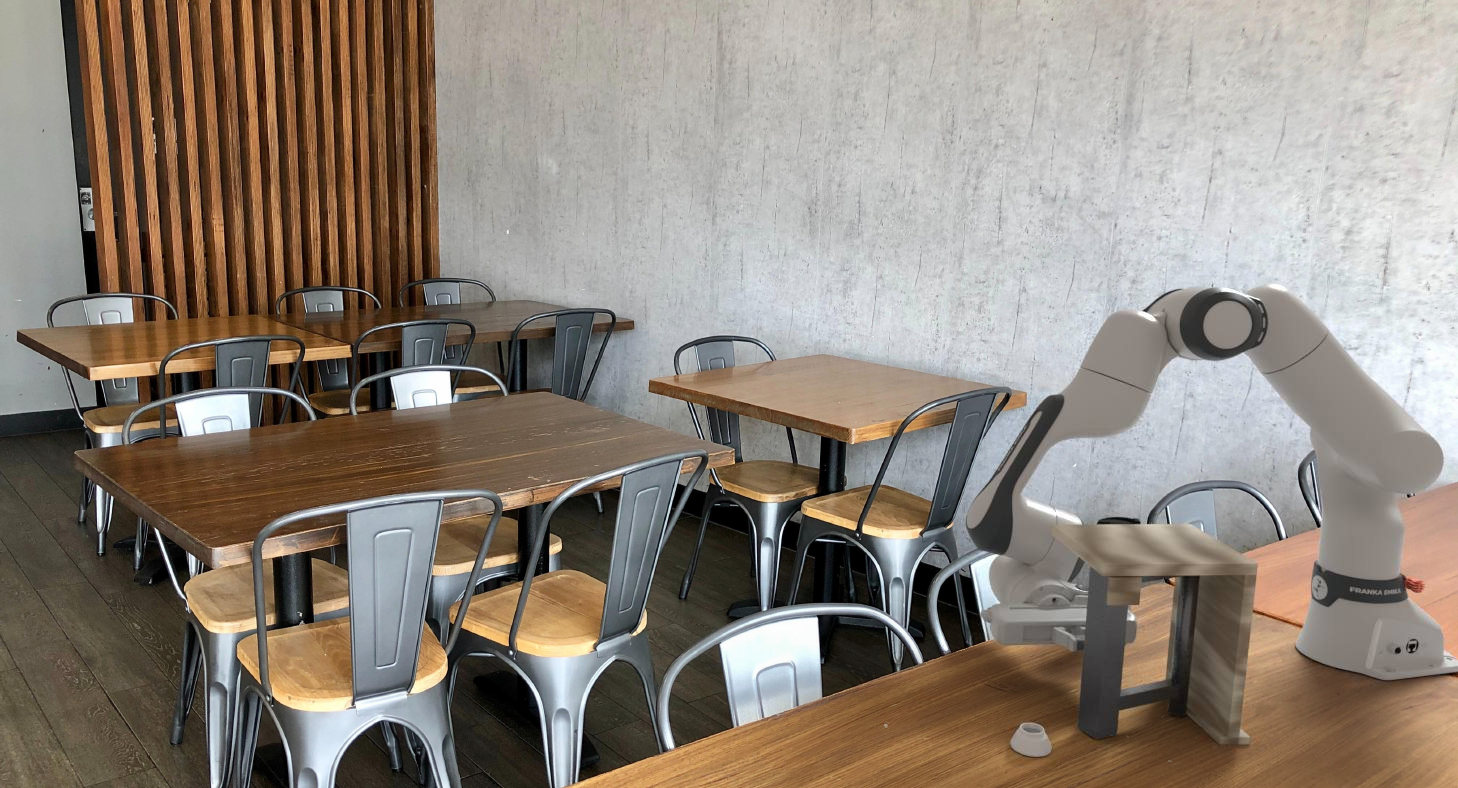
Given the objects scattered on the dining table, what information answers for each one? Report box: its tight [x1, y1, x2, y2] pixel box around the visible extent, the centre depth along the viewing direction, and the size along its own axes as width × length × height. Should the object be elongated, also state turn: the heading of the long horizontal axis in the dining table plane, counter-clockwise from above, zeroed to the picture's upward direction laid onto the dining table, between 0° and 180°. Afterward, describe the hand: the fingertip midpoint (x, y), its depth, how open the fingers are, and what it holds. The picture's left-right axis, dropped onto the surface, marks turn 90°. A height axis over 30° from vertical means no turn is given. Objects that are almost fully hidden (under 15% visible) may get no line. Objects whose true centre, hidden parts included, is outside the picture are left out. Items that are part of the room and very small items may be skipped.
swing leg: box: [1077, 566, 1200, 740], centre depth 142 cm, size 17×4×22 cm, turn 114°
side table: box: [1052, 523, 1259, 746], centre depth 144 cm, size 22×17×24 cm
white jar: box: [1009, 722, 1053, 758], centre depth 136 cm, size 5×3×5 cm
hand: (1083, 646), depth 144 cm, fingers closed
